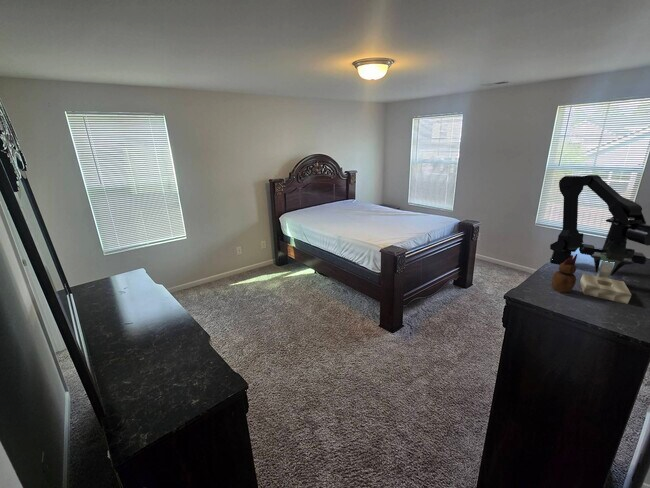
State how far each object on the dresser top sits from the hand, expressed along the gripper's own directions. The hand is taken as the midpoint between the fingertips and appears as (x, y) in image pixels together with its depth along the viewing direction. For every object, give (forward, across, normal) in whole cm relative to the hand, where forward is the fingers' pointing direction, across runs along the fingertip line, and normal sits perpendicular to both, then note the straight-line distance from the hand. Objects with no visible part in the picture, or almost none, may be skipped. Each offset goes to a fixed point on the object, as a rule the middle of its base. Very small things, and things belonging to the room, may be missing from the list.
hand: (603, 273), depth 120 cm
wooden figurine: (+4, -14, -18) cm, 23 cm away
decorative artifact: (+4, +7, +34) cm, 35 cm away
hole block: (+4, -1, -11) cm, 12 cm away
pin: (+4, 0, 0) cm, 4 cm away
